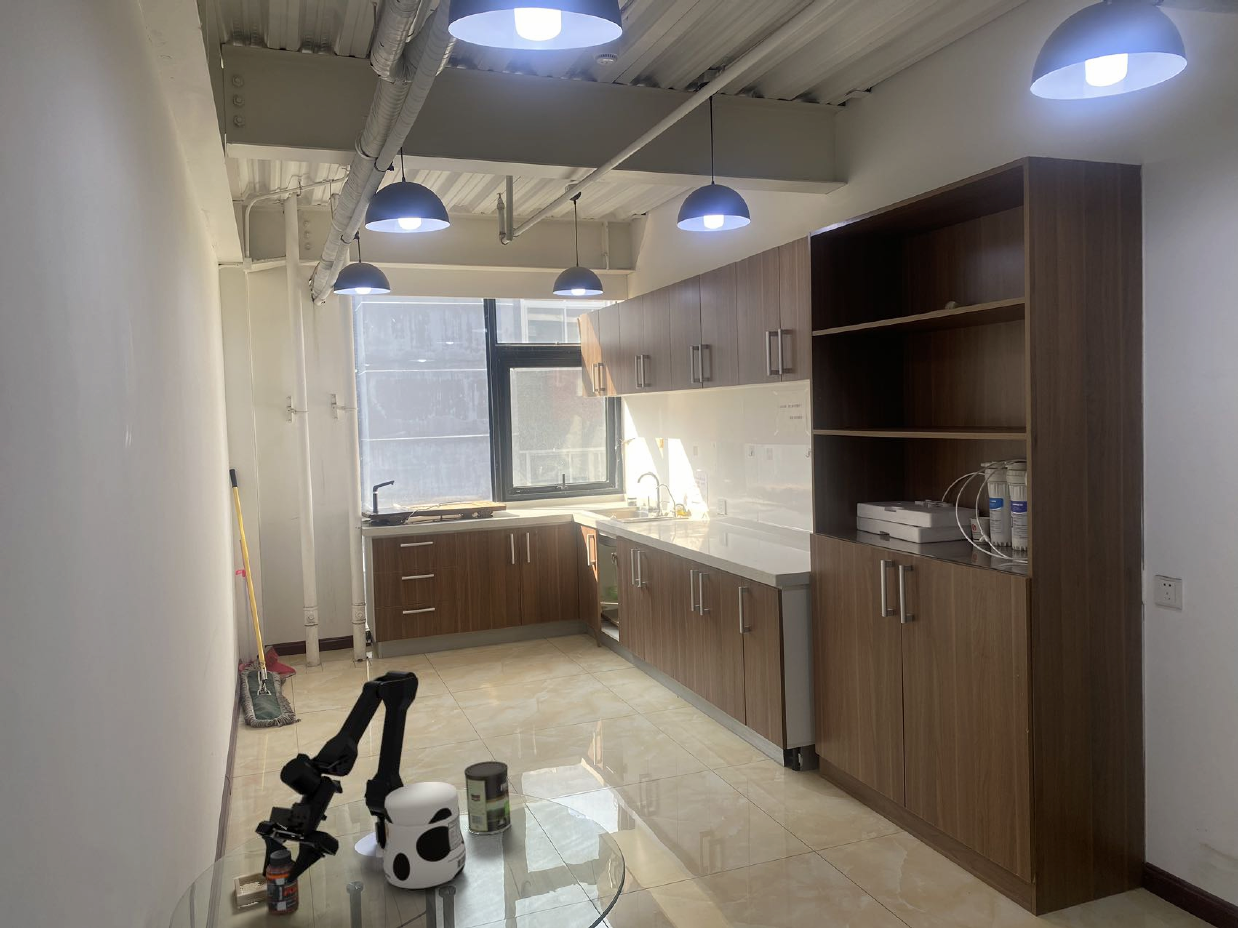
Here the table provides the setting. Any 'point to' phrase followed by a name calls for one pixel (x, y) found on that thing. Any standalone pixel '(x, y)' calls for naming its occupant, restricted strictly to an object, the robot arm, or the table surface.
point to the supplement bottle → (281, 884)
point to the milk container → (423, 836)
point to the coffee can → (487, 797)
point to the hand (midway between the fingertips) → (276, 879)
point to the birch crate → (251, 896)
